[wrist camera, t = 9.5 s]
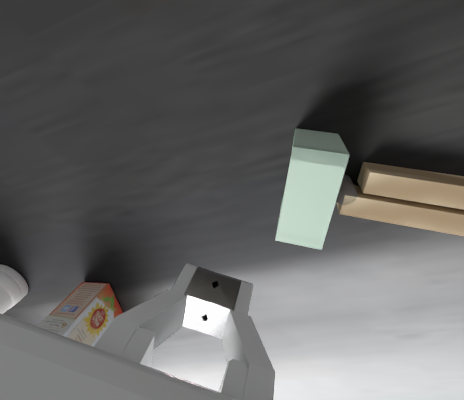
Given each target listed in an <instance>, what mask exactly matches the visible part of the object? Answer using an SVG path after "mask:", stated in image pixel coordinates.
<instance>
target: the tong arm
mask: <svg viewBox="0 0 464 400" xmlns="http://www.w3.org/2000/svg"><path fill="white" fill-rule="evenodd" d="M357 182H358V184H359V186H360V188H361V190H362V192H363V193H366V194H372V195H378V196H384V197H390V198H396V199H402V200H409V201H415V202H421V203H427V204H433V205H439V206H445V207H451V208H457V209H463V210H464V176H458V175H451V174H444V173H437V172H431V171H424V170H417V169H410V168H403V167H396V166H389V165H383V164H376V163H369V162H363V164H362V167H361V170H360V173H359V176H358V179H357Z"/></svg>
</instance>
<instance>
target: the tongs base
mask: <svg viewBox="0 0 464 400" xmlns="http://www.w3.org/2000/svg"><path fill="white" fill-rule="evenodd" d="M336 202H337V206H338V210H339V214H343V215H348V216H354V217H360V218H365V219H371V220H376V221H382V222H387V223H393V224H399V225H404V226H410V227H415V228H421V229H426V230H432V231H438V232H443V233H449V234H454V235H460V236H464V210H463V209H457V208H451V207H445V206H439V205H433V204H427V203H421V202H415V201H409V200H402V199H396V198H390V197H384V196H378V195H372V194H366V193H363V192H362V190H361V188H360V186H357V185H354V184H353V182H352V180H351V178H350V177H349V176H348V175H346V174H344V176H343V179H342V183H341V186H340V189H339V193H338V196H337V199H336Z"/></svg>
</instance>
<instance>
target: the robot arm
mask: <svg viewBox="0 0 464 400" xmlns="http://www.w3.org/2000/svg"><path fill="white" fill-rule="evenodd" d="M252 290H253V284H252V283H249V282H245V281H241V280H239V279H235V278H232V277H229V276H226V275H222V274H218V273H215V272H213V271H210V270H207V269H204V268H201V267H197V266H194V265H191V264H188V263H187V264H186V265H185V266H184V268H183V270H182V271H181V273H180V275H179V277H178V279H177V280H176V282H175V284H174V286H173V287H172V289H171V290H166V291H164V292H162V293H160V294H158V295H156V296H154V297H152V298H150V299H149V300H147V301H145V302H143V303H141V304H139V305H137V306H135V307H133V308H132V309H130V310H128V311H126V312H124V313H122V314H120V315H118V316H116V317H115V318H114V320H113V321H112V322H111V324H110V325H109V327H108V328H107V329H106V331H105V332H104V333H103V335H102V336H101V338H100V339H99V340H98V342H97V343H96V344H95V346H94V347H92V346H89V345H87V344H84V343H81V342H78V341H76V340H73V339H70V338H67V337H64V336H62V335H59V334H56V333H53V332H51V331H48V330H45V329H42V328H39V327H37V326H34V325H31V324H28V323H26V322H23V321H20V320H17V319H15V318H12V317H9V316H6V315H4V314H1V313H0V400H273V394H274V380H275V371H274V369H273V367H272V364H271V362H270V360H269V357H268V355H267V353H266V351H265V348H264V346H263V344H262V341H261V339H260V337H259V334H258V332H257V330H256V328H255V325H254V323H253V321H252V318H251V317H250V316H247V315H248V310H249V305H250V300H251V295H252ZM182 326H184V327H188V328H191V329H194V330H197V331H201V332H203V333H206V334H209V335H212V336H214V337H217V338H220V339H221V341H222V345H223V349H224V354H225V358H226V362H227V368H226V371H225V374H224V377H223V380H222V383H221V386H220V389H219V392H217V391H214V390H212V389H209V388H206V387H203V386H200V385H198V384H195V383H192V382H189V381H187V380H184V379H181V378H178V377H175V376H173V375H170V374H167V373H164V372H161V371H159V370H156V369H153V368H152V359H153V350H154V349H155V348H156V347H158V346H159V345H160V344H161V343H163V342H164V341H165V340H167V339H168V338H169V337H170V336H172V335H173V334H174V333H175V332H177V331H178V330H179V329H181V328H182Z"/></svg>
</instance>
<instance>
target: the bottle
mask: <svg viewBox="0 0 464 400" xmlns="http://www.w3.org/2000/svg"><path fill="white" fill-rule="evenodd" d="M27 294H28V285H27V283H26V281H25V279H24V278H23V277H22V276H21V275H20V274H19V273H18V272H17V271H15V270H14V269H13V268H11V267H9V266H6V265H1V264H0V313H1V314H3V313H5V312H6V311H7V310H8V309H10V308H11V307H13V306H14V305H15V304H17V303H18V302H19V301H20V300H21V299H22V298H23V297H24V296H25V295H27Z"/></svg>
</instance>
